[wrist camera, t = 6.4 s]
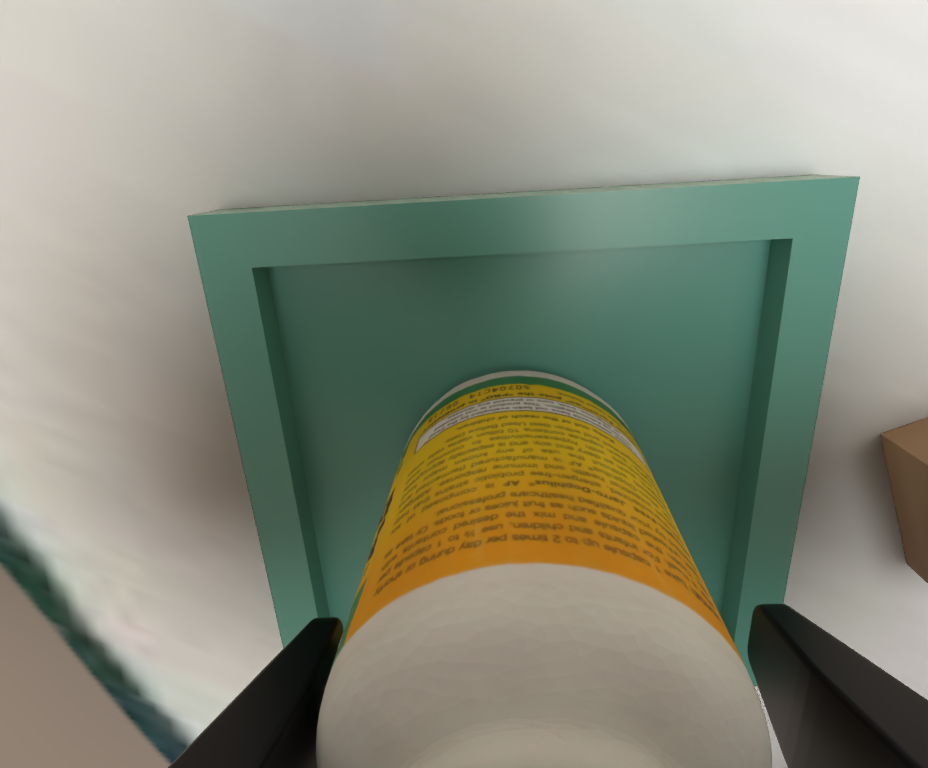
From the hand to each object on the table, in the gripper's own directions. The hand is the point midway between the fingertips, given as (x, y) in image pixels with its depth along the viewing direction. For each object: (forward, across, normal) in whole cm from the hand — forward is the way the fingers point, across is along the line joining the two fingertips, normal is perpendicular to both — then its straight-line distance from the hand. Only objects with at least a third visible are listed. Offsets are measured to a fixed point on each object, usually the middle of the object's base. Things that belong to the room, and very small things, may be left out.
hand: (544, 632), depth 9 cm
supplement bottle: (+5, 0, 0) cm, 5 cm away
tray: (+6, 0, 0) cm, 6 cm away
